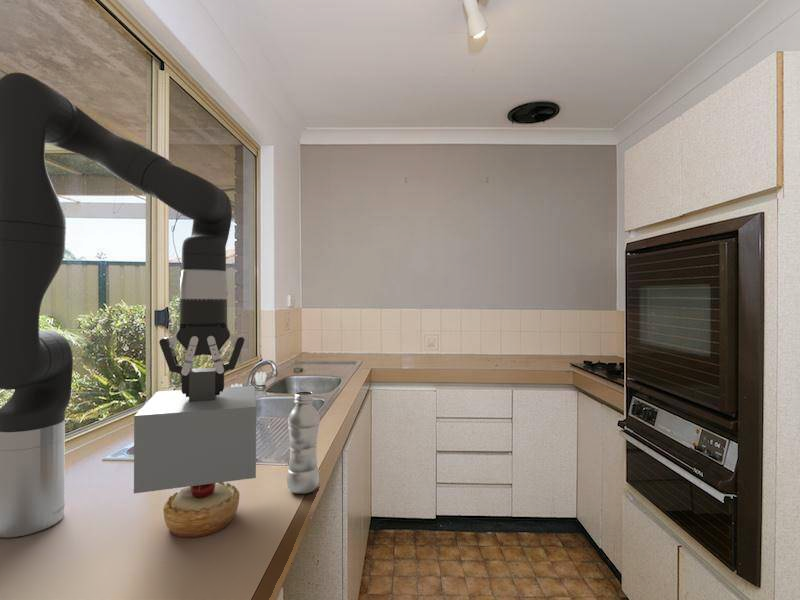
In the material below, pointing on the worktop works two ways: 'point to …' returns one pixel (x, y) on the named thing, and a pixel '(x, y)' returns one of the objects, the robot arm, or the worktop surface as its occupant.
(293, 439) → the plastic bottle
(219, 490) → the pastry
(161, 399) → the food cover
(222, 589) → the worktop surface
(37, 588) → the worktop surface
